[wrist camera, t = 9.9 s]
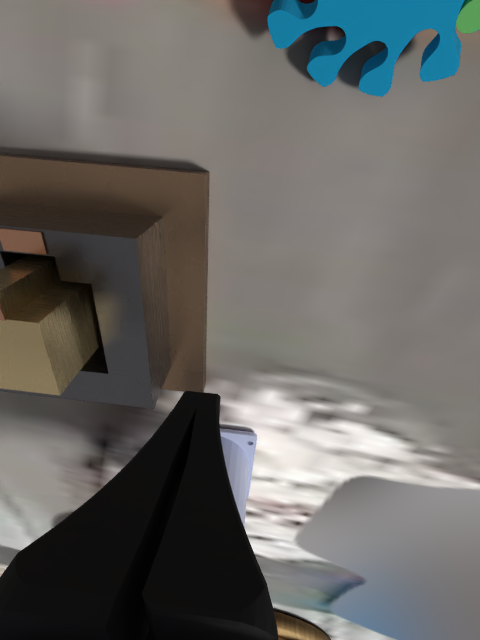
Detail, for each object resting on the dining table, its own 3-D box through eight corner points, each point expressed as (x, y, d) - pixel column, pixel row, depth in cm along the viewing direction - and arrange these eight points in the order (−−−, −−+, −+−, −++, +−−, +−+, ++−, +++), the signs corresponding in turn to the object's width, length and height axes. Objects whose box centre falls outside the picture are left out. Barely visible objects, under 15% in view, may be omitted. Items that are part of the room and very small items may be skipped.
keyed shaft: (121, 318, 21) (59, 396, 15) (61, 312, 21) (-25, 387, 15) (110, 241, 18) (28, 297, 12) (41, 234, 18) (-73, 286, 12)
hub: (205, 384, 24) (191, 439, 20) (17, 363, 25) (-37, 412, 21) (209, 171, 17) (187, 186, 12) (-64, 147, 17) (-178, 154, 13)
